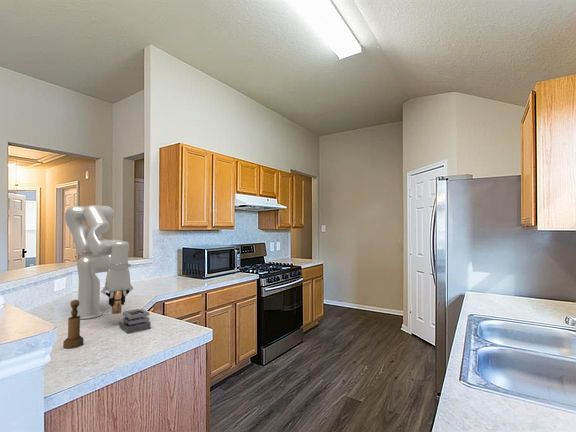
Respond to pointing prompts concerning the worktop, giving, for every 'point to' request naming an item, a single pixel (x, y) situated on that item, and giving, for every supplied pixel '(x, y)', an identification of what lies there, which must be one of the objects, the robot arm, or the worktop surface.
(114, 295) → the copper tube
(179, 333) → the worktop surface
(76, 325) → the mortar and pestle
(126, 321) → the bracket
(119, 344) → the worktop surface
